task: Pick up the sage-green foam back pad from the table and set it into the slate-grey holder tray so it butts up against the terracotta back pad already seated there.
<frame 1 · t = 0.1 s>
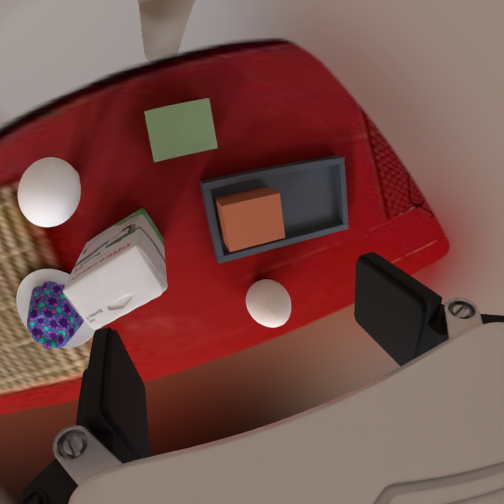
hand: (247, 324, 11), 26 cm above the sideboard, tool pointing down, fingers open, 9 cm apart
holder: (277, 203, 38), on the sideboard
ink box: (123, 241, 34), on the sideboard
terracotta pad: (244, 212, 37), resting on holder
green pad: (178, 129, 31), on the sideboard
egg: (258, 288, 42), on the sideboard
lightbulb: (71, 177, 30), on the sideboard
patterned bowl: (57, 307, 34), on the sideboard
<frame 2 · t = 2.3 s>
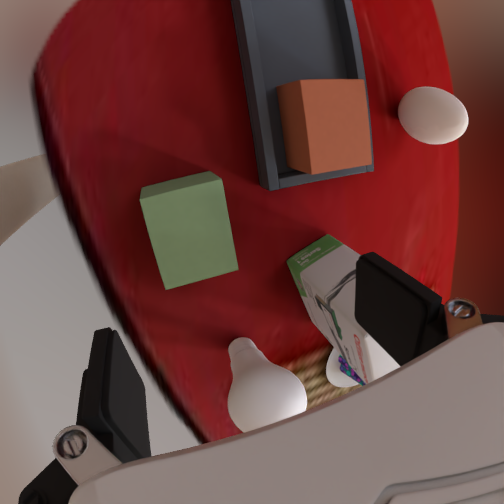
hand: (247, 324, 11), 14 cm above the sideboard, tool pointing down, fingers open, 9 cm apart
holder: (300, 71, 21), on the sideboard
ink box: (320, 280, 30), on the sideboard
terracotta pad: (311, 123, 23), resting on holder
green pad: (184, 219, 23), on the sideboard
egg: (402, 113, 26), on the sideboard
lightbulb: (238, 341, 29), on the sideboard
patterned bowl: (363, 347, 36), on the sideboard
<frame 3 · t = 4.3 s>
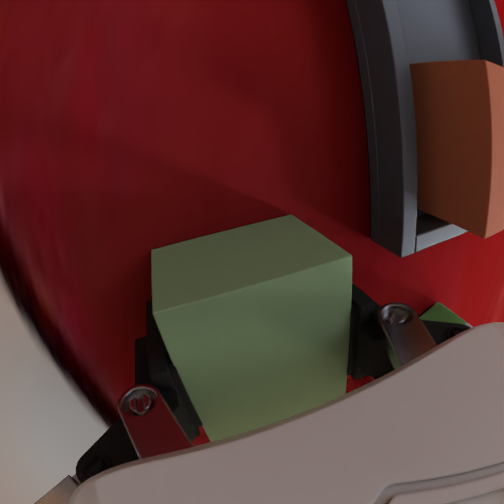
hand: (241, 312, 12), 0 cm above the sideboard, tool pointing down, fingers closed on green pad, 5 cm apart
holder: (431, 47, 10), on the sideboard
ink box: (413, 358, 18), on the sideboard
terracotta pad: (449, 135, 12), resting on holder
green pad: (238, 305, 12), on the sideboard, touching gripper
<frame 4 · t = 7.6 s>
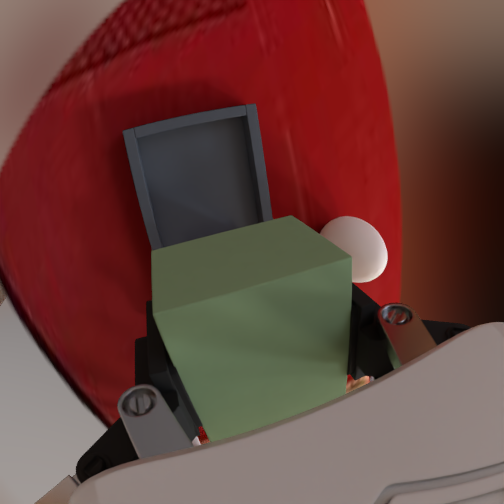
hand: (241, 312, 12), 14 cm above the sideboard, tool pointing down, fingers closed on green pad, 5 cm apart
holder: (208, 222, 25), on the sideboard
green pad: (238, 306, 12), point 14 cm above the sideboard, touching gripper
egg: (328, 234, 29), on the sideboard
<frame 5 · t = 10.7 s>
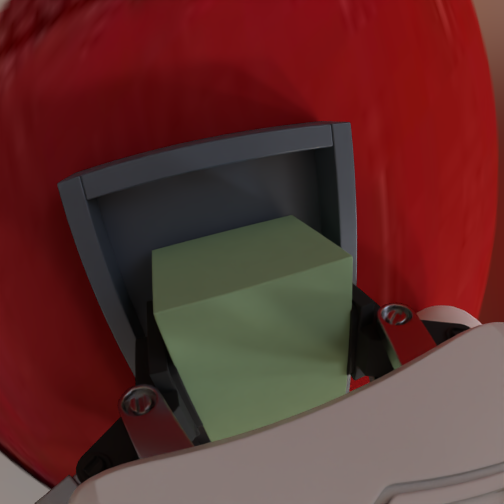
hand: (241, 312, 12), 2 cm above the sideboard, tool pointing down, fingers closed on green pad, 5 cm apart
holder: (241, 335, 14), on the sideboard
green pad: (238, 306, 12), point 1 cm above the sideboard, touching gripper
egg: (410, 321, 18), on the sideboard
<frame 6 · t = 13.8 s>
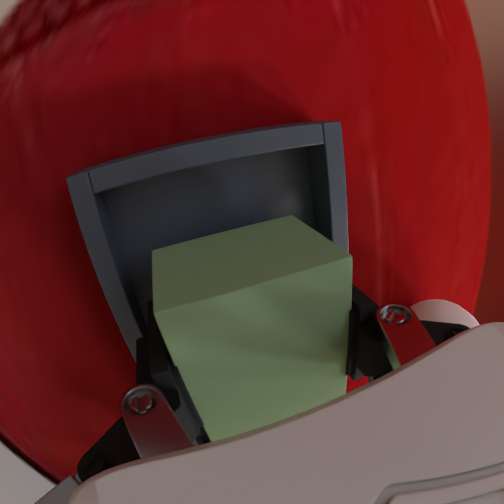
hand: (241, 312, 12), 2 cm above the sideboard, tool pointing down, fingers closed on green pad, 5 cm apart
holder: (238, 325, 15), on the sideboard
green pad: (238, 306, 12), point 2 cm above the sideboard, touching gripper
egg: (404, 315, 19), on the sideboard
when the fingers open (2 cm above the sideboard, at t = 16.4 s): green pad drops 1 cm, resting on holder.
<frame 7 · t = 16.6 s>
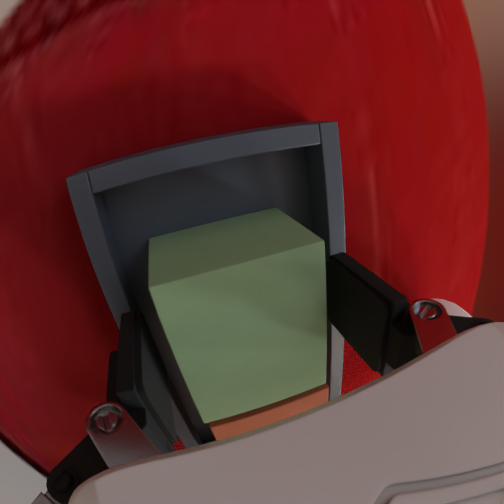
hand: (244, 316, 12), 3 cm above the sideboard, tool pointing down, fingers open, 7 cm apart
holder: (236, 324, 15), on the sideboard
terracotta pad: (253, 389, 16), resting on holder
green pad: (228, 291, 13), point 1 cm above the sideboard, touching holder
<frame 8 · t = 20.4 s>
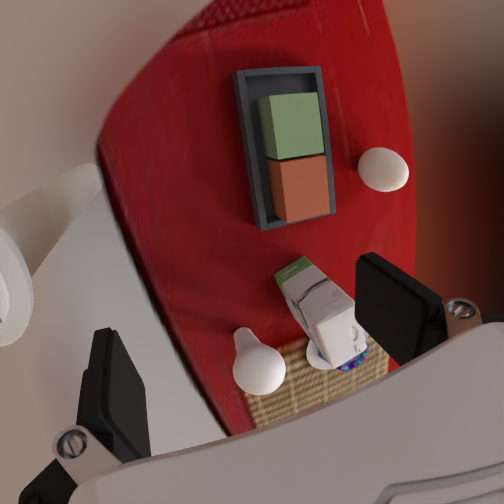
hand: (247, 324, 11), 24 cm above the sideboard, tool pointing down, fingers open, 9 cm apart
holder: (284, 144, 34), on the sideboard
ink box: (299, 287, 42), on the sideboard
terracotta pad: (291, 182, 35), resting on holder
green pad: (282, 124, 32), point 1 cm above the sideboard, touching holder
egg: (363, 164, 38), on the sideboard
lightbulb: (240, 330, 42), on the sideboard
patterned bowl: (336, 338, 48), on the sideboard
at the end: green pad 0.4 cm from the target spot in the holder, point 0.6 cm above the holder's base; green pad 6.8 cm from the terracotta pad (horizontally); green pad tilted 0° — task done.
